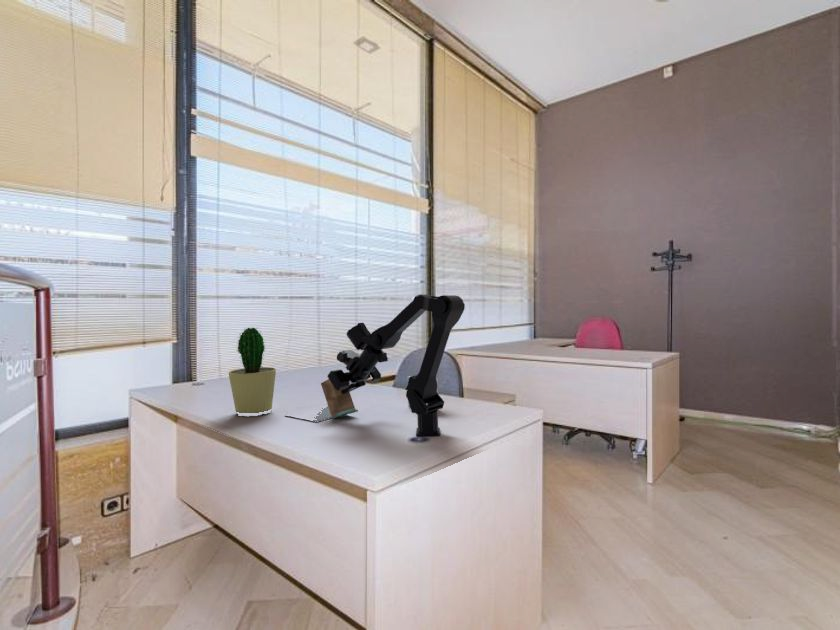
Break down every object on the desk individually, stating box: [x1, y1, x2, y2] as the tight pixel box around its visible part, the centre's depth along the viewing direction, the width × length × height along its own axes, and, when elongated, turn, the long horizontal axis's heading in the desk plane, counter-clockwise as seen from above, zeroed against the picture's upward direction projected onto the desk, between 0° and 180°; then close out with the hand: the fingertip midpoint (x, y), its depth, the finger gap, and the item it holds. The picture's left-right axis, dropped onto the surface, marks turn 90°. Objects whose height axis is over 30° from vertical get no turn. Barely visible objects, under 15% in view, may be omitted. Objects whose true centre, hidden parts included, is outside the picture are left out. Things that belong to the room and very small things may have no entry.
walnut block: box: [320, 378, 356, 419], centre depth 145 cm, size 5×6×12 cm
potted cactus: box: [227, 326, 277, 413], centre depth 153 cm, size 15×15×30 cm
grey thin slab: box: [313, 406, 359, 422], centre depth 150 cm, size 16×18×1 cm
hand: (342, 393), depth 144 cm, fingers closed
